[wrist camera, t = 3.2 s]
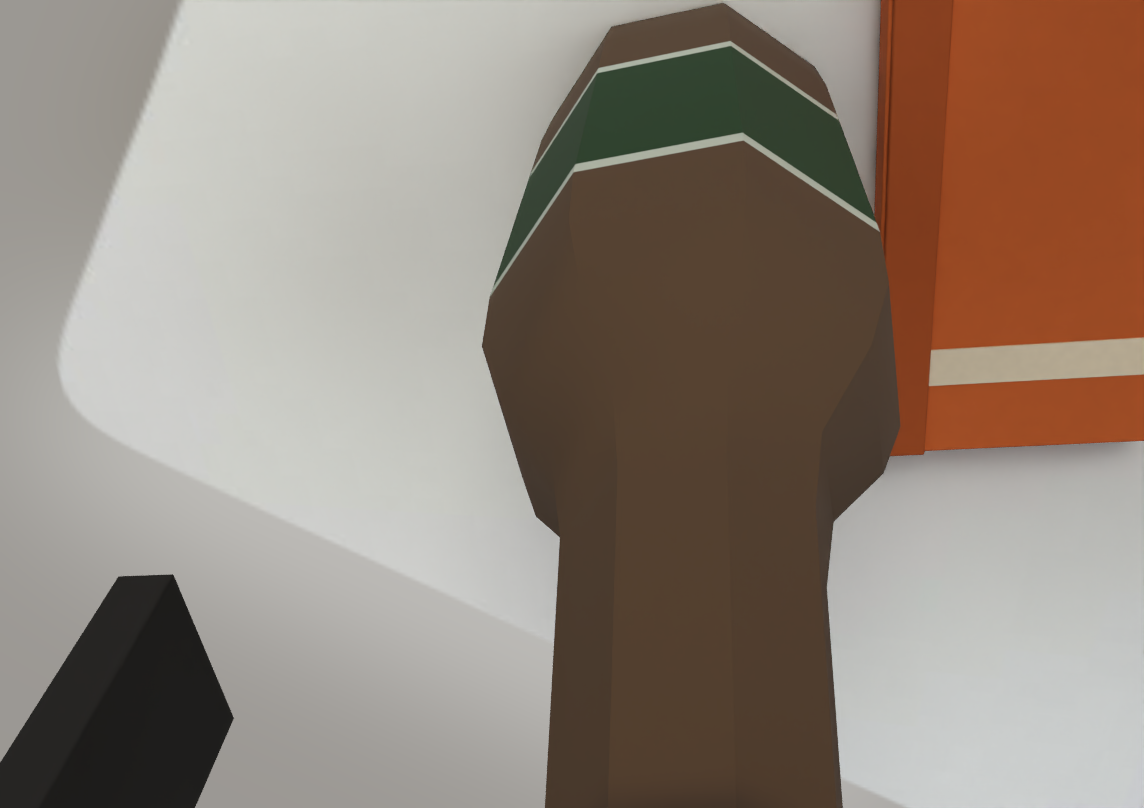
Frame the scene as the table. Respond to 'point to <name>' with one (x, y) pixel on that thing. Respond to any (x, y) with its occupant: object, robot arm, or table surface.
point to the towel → (1013, 219)
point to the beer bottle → (694, 411)
